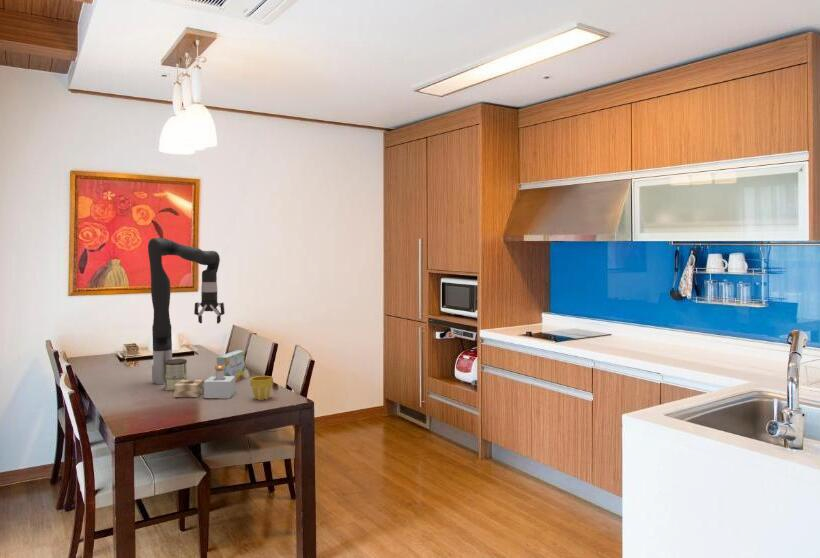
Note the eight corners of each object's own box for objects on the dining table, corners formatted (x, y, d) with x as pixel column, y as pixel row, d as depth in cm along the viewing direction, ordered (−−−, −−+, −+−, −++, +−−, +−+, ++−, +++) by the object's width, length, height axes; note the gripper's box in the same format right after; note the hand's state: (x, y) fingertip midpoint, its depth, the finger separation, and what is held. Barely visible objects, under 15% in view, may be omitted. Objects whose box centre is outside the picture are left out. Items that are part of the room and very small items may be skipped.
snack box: (226, 386, 314) (225, 357, 313) (216, 386, 315) (215, 356, 315) (245, 377, 335) (245, 350, 334) (235, 377, 336) (235, 349, 335)
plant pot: (254, 395, 296) (254, 375, 296) (275, 395, 296) (275, 375, 295) (247, 401, 286) (247, 380, 285) (270, 401, 286) (269, 380, 285)
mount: (174, 397, 292) (173, 385, 291) (181, 392, 303) (180, 380, 302) (197, 397, 292) (197, 384, 292) (204, 391, 303) (203, 379, 303)
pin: (214, 396, 294) (213, 367, 293) (216, 394, 299) (216, 365, 298) (223, 396, 294) (223, 366, 294) (225, 394, 299) (225, 365, 298)
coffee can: (162, 388, 310) (161, 360, 309) (181, 385, 317) (181, 358, 316) (170, 392, 302) (170, 363, 302) (190, 388, 310) (190, 360, 309)
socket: (204, 398, 290) (203, 381, 290) (210, 392, 302) (210, 376, 302) (230, 398, 291) (229, 381, 290) (235, 392, 303) (235, 375, 302)
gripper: (192, 291, 303) (192, 324, 304) (222, 291, 304) (222, 324, 305) (196, 290, 311) (197, 322, 312) (225, 290, 312) (225, 322, 313)
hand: (209, 323), depth 309 cm, fingers open, 8 cm apart
